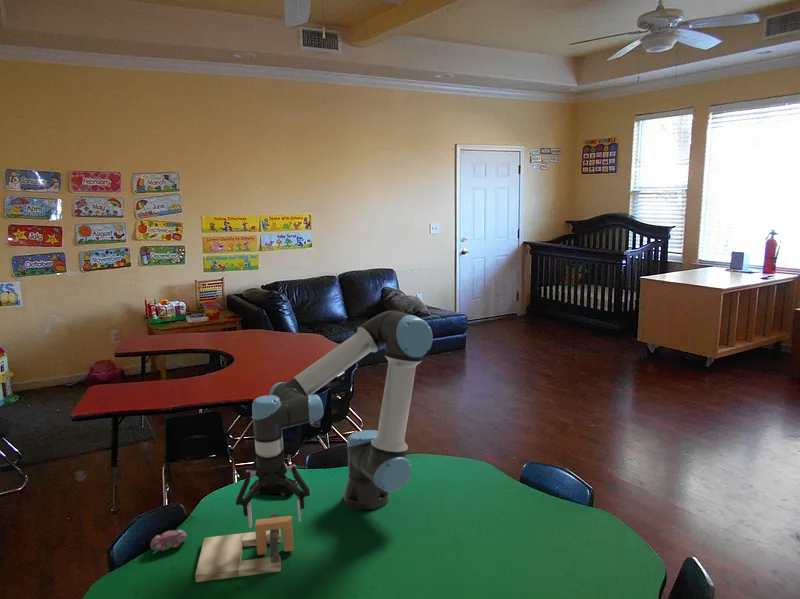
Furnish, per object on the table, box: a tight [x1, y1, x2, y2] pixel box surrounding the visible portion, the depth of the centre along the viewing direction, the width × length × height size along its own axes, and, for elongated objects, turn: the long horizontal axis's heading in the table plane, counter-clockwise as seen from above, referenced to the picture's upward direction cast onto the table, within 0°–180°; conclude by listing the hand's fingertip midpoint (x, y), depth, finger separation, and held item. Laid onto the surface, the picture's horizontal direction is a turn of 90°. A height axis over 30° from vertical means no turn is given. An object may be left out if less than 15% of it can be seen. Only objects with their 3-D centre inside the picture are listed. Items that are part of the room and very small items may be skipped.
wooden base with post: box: [195, 512, 282, 583], centre depth 167 cm, size 22×18×8 cm
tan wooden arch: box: [254, 515, 294, 556], centre depth 168 cm, size 10×3×9 cm, turn 101°
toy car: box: [249, 477, 299, 498], centre depth 204 cm, size 7×16×5 cm, turn 80°
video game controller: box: [150, 529, 187, 552], centre depth 172 cm, size 10×5×7 cm, turn 119°
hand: (275, 522), depth 168 cm, fingers open, 13 cm apart
